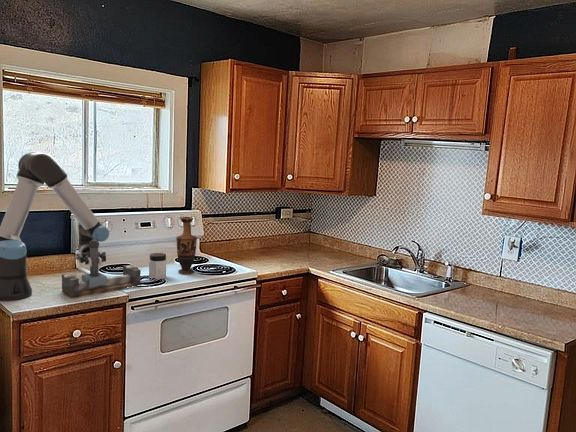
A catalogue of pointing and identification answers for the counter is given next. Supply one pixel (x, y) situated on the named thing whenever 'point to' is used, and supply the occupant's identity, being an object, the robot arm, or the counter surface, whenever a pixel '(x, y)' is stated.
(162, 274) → the jar
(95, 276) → the carriage
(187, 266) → the vase
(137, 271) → the rail
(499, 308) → the counter surface
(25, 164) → the robot arm
